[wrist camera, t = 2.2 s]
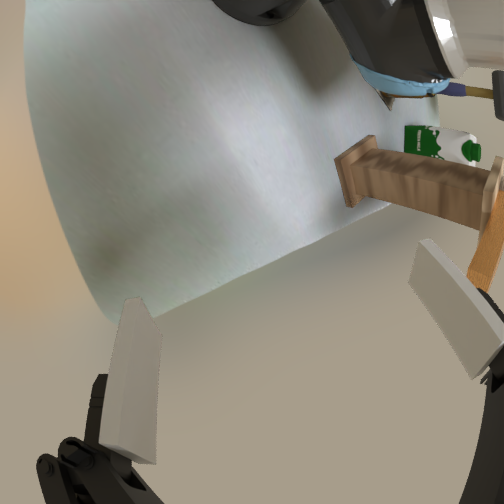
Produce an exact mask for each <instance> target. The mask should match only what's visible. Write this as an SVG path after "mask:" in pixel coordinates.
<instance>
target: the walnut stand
mask: <svg viewBox="0 0 504 504" xmlns="http://www.w3.org/2000/svg"><path fill="white" fill-rule="evenodd" d="M334 161H335V165H336V168H337V172H338V175H339V179H340V183H341V187H342V190H343V194H344V198H345V202H346V206H347V207H351V208H353V207H354V206H355V205H356V204H357V203H359V202H360V201H361V200H362V199H363V198H364V197H365V196H368V197H372V198H375V199H379V200H383V201H387V202H391V203H394V204H398V205H402V206H405V207H409V208H412V209H415V210H418V211H422V212H425V213H429V214H432V215H435V216H438V217H441V218H444V219H448V220H450V221H453V222H456V223H459V224H462V225H465V226H468V227H470V228H473V229H476V230H479V238H478V244H477V248H478V246H479V243H480V241H481V238H482V236H483V233H484V231H485V228H486V226H487V223H488V220H489V218H490V215H491V212H492V209H493V206H494V203H495V200H496V197H497V194H498V191H499V186H500V180H501V176H502V175H503V164H504V158H502V157H499V156H496V157H495V160H494V162H493V165H492V168H491V171H488V170H485V169H481V168H477V167H473V166H469V165H465V164H461V163H456V162H452V161H447V160H442V159H437V158H432V157H427V156H421V155H416V154H410V153H403V152H397V151H390V150H382V149H378V147H377V142H376V138H375V135H368V136H367V137H365V138H364V139H362V140H361V141H359V142H358V143H356V144H355V145H354V146H352V147H351V148H349V149H348V150H346V151H345V152H344V153H342V154H341V155H339V156H338V157H336V158H335V159H334Z"/></svg>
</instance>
